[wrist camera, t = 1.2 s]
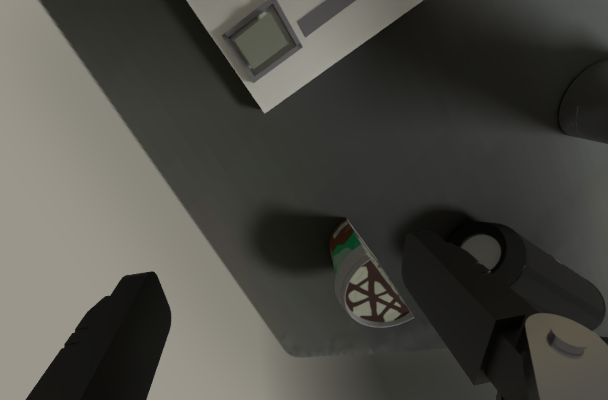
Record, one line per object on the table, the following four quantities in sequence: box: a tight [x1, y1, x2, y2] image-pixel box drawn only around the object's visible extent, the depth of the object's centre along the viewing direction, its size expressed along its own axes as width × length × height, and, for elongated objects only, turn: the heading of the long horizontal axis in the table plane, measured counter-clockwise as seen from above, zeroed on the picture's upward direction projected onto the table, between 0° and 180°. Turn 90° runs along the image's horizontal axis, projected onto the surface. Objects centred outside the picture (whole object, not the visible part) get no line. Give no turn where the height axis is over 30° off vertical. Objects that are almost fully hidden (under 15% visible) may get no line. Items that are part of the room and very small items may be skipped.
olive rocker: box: [234, 12, 289, 69], centre depth 23 cm, size 4×3×1 cm
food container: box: [329, 218, 415, 327], centre depth 35 cm, size 12×6×10 cm, turn 35°
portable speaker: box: [448, 222, 606, 331], centre depth 40 cm, size 26×10×10 cm, turn 58°
